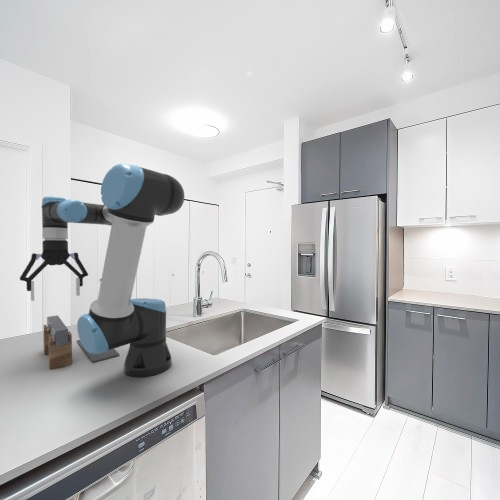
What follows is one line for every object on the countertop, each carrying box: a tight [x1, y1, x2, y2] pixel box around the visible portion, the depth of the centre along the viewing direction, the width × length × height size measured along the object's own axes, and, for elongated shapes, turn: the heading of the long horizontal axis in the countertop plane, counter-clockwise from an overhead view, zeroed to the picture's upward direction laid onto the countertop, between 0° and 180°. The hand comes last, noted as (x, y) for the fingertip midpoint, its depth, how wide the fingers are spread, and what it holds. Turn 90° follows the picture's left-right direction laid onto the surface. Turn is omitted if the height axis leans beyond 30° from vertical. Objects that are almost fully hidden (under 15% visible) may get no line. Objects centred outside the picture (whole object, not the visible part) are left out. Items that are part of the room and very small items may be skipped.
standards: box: [43, 324, 73, 370], centre depth 99 cm, size 20×6×10 cm, turn 42°
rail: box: [46, 314, 69, 346], centre depth 99 cm, size 24×4×5 cm, turn 42°
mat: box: [76, 339, 120, 364], centre depth 108 cm, size 28×9×1 cm, turn 42°
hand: (56, 297), depth 99 cm, fingers open, 13 cm apart
